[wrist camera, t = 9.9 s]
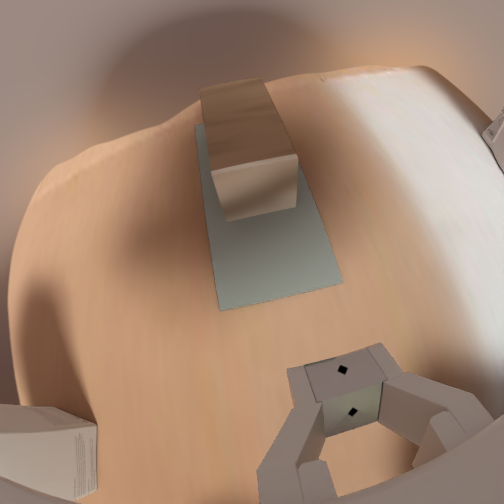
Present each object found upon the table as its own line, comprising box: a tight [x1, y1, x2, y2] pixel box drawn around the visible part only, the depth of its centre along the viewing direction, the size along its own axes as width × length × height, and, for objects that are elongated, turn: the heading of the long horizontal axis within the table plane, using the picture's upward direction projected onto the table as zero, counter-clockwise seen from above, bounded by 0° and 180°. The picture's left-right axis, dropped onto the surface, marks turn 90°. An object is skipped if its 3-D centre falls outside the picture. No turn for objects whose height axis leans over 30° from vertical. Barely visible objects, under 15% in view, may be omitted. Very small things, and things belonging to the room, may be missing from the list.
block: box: [199, 77, 298, 222], centre depth 29 cm, size 7×7×14 cm
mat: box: [195, 123, 343, 311], centre depth 31 cm, size 25×11×1 cm, turn 11°
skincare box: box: [0, 404, 97, 501], centre depth 13 cm, size 8×7×16 cm
